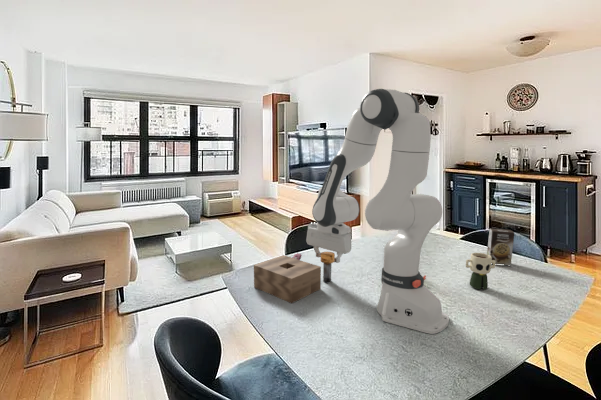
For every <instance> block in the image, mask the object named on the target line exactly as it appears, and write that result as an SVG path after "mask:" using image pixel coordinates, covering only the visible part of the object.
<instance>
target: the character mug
mask: <svg viewBox="0 0 601 400" xmlns="http://www.w3.org/2000/svg"><path fill="white" fill-rule="evenodd" d="M491 263H493V265H491ZM495 263H496V262H495V260H492V257H491V256H490V255H488V254H487V253H482V252H472V253H470V259H466V260H465V268H469V269H470V271H472V272H471V275H470V279H469V286H470V287H471V288H473V289H477V290H481V289H483V290H487V289H489V288H488V286H489V285H488V284H489V282H488V281H489V280H488V276H487V274H489V273H490V272H491V270H492V269H495V268H496V265H495ZM482 287H483V288H482Z"/></svg>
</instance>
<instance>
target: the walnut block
mask: <svg viewBox="0 0 601 400" xmlns="http://www.w3.org/2000/svg"><path fill="white" fill-rule="evenodd" d="M321 270H322V266H319V265H317V264H315V263H314V264H313V263H310V262H307V261H303V260H301V259H300V260H297V259H294V258H292V257H291V256H287V255H284V254H283V255H280V256H276V257H274V258H271V259H267V260H264V261H262V262H259V263H256V264H253V286H254V287H253V288H255V289H257V290H260V291H262V292H264V293H267V294H269V295H271V296H273V297H275V298H278V299H281V300H282V301H285V302H288V303H290V304H294V303H296V302H298V301H299V300H301V299H304V298H306V297H307V296H310V295H312V294H313V293H315V292H317V291H318V292H319V290H321V285H322V283H321V282H322V281H321V277H322V275H321V274H322V271H321Z"/></svg>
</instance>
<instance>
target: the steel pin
mask: <svg viewBox="0 0 601 400" xmlns="http://www.w3.org/2000/svg"><path fill="white" fill-rule="evenodd" d="M335 255H336V254H335V252H334V251H323V252H321V257H320V263H323V271H322V272H323V274H322V275H323V276H322V282H324V283H326V284H327V283H331V282H332V264H333V263H335V262H334V261H335V260H334V258H336V256H335Z"/></svg>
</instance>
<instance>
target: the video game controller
mask: <svg viewBox="0 0 601 400" xmlns="http://www.w3.org/2000/svg"><path fill="white" fill-rule="evenodd" d="M302 255H303V254H302V253H299V252H297V253H295V254H293V257H291V258H294V259H297V260H301V258H302Z"/></svg>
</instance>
